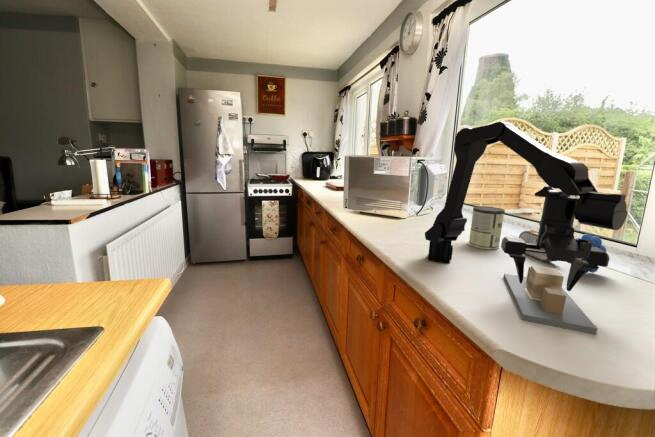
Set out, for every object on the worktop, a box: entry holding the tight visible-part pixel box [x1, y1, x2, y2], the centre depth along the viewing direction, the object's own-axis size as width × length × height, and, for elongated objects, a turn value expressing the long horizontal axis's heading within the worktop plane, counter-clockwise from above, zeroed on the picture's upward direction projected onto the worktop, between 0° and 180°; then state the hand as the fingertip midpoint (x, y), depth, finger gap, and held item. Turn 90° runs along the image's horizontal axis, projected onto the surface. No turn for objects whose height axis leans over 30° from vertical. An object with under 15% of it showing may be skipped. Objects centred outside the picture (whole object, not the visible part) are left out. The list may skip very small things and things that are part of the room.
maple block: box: [527, 265, 565, 300], centre depth 69 cm, size 5×5×6 cm
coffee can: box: [468, 205, 506, 251], centre depth 113 cm, size 10×10×14 cm
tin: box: [518, 229, 553, 263], centre depth 102 cm, size 15×3×8 cm, turn 7°
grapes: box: [576, 233, 607, 274], centre depth 87 cm, size 12×7×12 cm, turn 99°
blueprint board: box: [503, 266, 598, 335], centre depth 70 cm, size 12×24×5 cm, turn 159°
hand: (543, 286), depth 70 cm, fingers open, 9 cm apart
